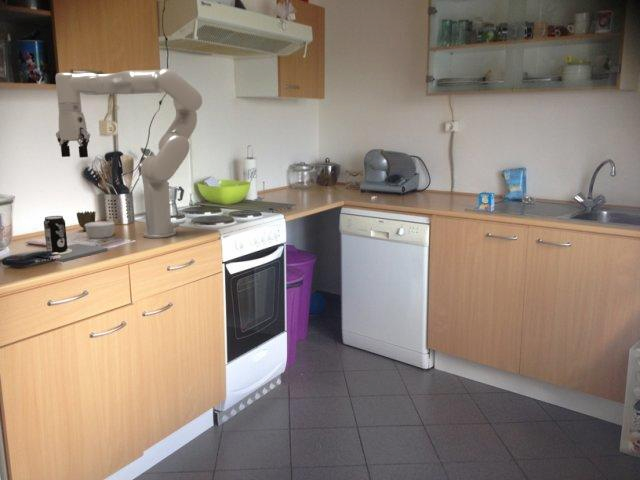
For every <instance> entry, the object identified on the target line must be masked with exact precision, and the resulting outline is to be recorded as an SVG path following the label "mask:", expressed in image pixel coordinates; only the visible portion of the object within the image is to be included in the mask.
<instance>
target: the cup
mask: <svg viewBox="0 0 640 480" xmlns="http://www.w3.org/2000/svg"><path fill="white" fill-rule="evenodd" d="M96 215H97V214H96V211H88V210H87V211H86V210H85V211H84V212H83V211H81V212H80V211H78V212H76V218H77V222H78V226H79V227H81V228H82V231H83V232H86V228H85V226H84V225H85V224H87V223H91V222H96ZM86 233H87V232H86Z"/></svg>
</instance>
